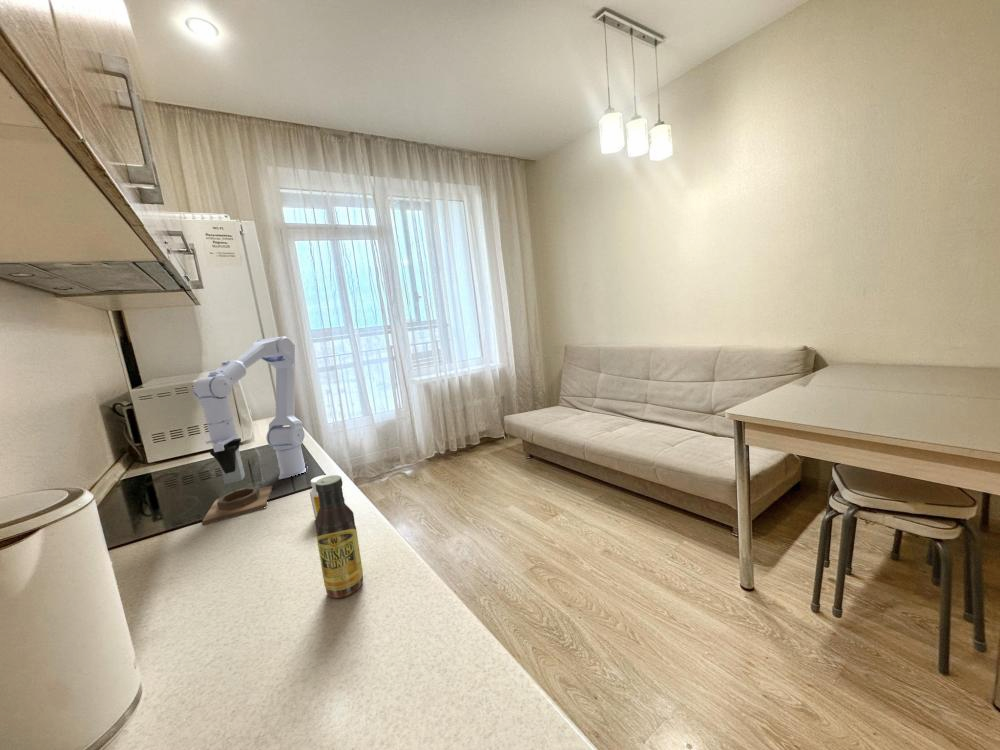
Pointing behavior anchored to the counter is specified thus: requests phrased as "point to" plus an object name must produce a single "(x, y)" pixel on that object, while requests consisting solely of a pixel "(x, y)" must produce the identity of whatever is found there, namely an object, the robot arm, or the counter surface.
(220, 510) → the holder board
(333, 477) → the sauce bottle
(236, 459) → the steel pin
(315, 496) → the supplement bottle
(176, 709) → the counter surface
